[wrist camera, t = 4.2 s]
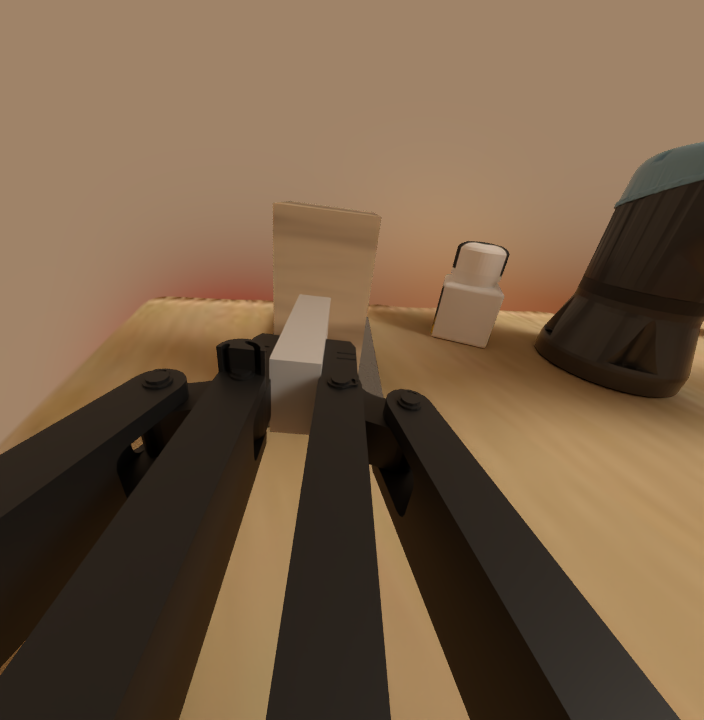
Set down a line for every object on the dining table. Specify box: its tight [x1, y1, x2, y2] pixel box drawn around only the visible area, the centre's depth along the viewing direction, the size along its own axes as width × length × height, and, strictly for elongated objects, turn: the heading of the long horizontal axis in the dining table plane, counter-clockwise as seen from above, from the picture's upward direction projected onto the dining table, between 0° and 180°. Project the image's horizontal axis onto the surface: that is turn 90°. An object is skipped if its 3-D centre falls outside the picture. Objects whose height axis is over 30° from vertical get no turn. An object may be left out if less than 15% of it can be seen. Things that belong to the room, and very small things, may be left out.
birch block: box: [273, 201, 381, 371], centre depth 22 cm, size 6×6×13 cm
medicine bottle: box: [431, 241, 509, 348], centre depth 39 cm, size 7×7×12 cm
